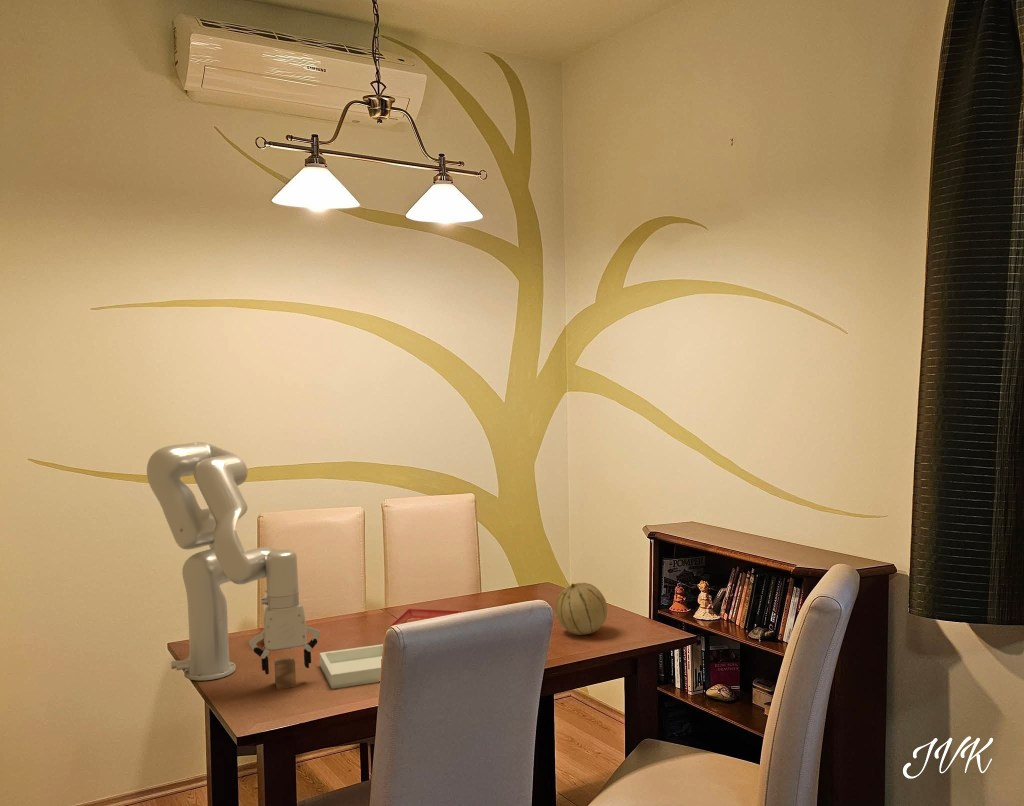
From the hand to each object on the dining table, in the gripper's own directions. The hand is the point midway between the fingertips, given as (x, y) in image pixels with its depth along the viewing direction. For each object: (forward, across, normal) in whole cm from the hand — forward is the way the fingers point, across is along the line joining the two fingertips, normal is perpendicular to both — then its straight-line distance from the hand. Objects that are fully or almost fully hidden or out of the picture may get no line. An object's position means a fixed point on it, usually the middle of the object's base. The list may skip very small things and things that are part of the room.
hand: (286, 669), depth 217 cm
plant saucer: (+5, +44, +32) cm, 55 cm away
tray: (+4, +18, +2) cm, 19 cm away
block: (+4, 0, 0) cm, 4 cm away
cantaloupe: (+5, +84, +6) cm, 84 cm away
